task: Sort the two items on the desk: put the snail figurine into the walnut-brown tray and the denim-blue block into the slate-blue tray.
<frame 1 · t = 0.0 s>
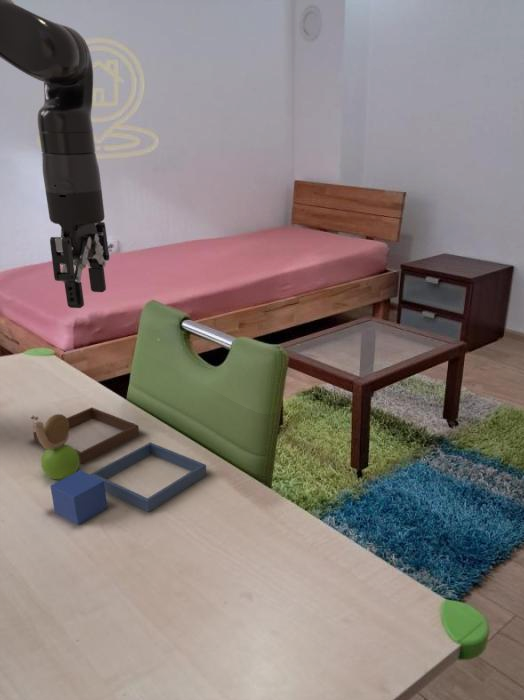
hand: (87, 299, 96), 25 cm above the table, tool pointing down, fingers open, 8 cm apart
blue block: (81, 513, 88), on the table
snail figurine: (60, 479, 97), on the table
brown tray: (88, 441, 107), on the table
blue tray: (150, 483, 96), on the table
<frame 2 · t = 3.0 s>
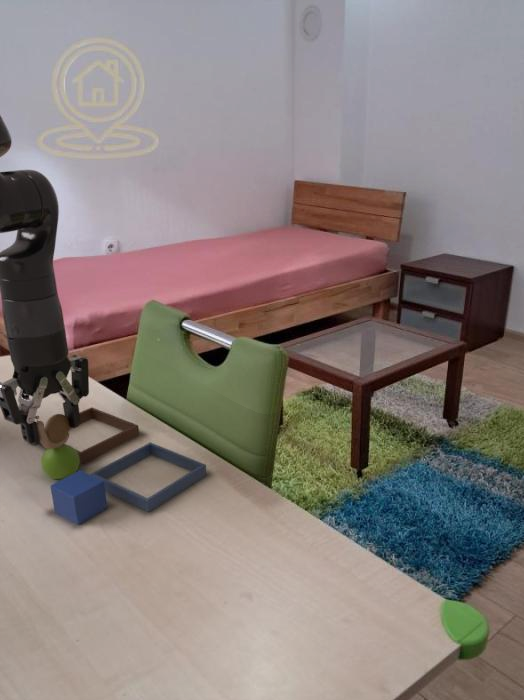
hand: (53, 434, 93), 8 cm above the table, tool pointing down, fingers closed on snail figurine, 6 cm apart
snail figurine: (60, 479, 97), on the table, touching gripper
everything else where it was.
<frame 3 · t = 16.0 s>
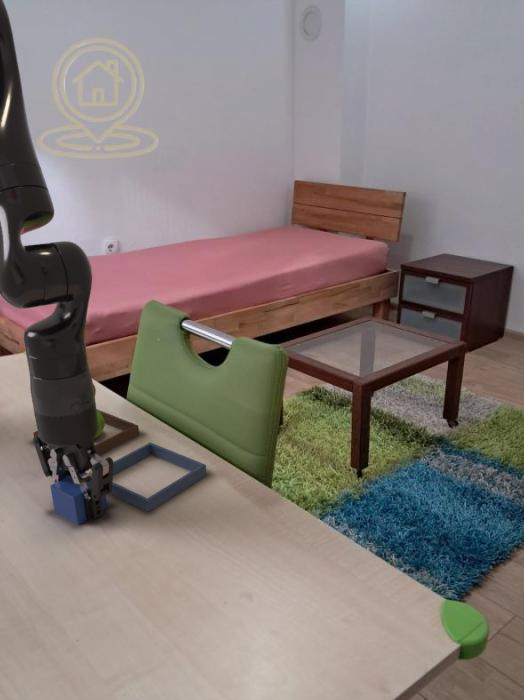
hand: (81, 510, 88), 0 cm above the table, tool pointing down, fingers closed on blue block, 5 cm apart
blue block: (81, 513, 88), on the table, touching gripper
snail figurine: (87, 440, 107), resting on brown tray
when the fingers open (1 cm above the table, at t = 22.9 s): blue block stays where it is, resting on blue tray.
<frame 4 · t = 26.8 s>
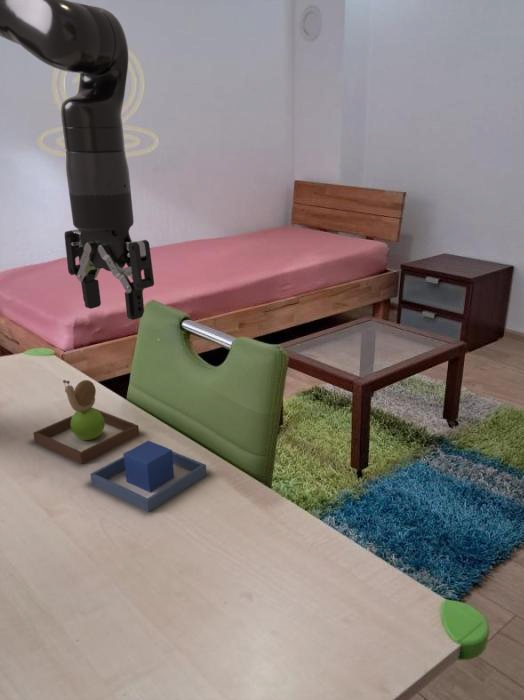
hand: (113, 312, 87), 26 cm above the table, tool pointing down, fingers open, 8 cm apart
blue block: (150, 480, 95), resting on blue tray
everything else where it was.
at the end: snail figurine inside the target area in the brown tray (0.0 cm from its centre), point 0.3 cm above the brown tray's base; blue block inside the target area in the blue tray (0.1 cm from its centre), point 0.5 cm above the blue tray's base; snail figurine tilted 0° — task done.
